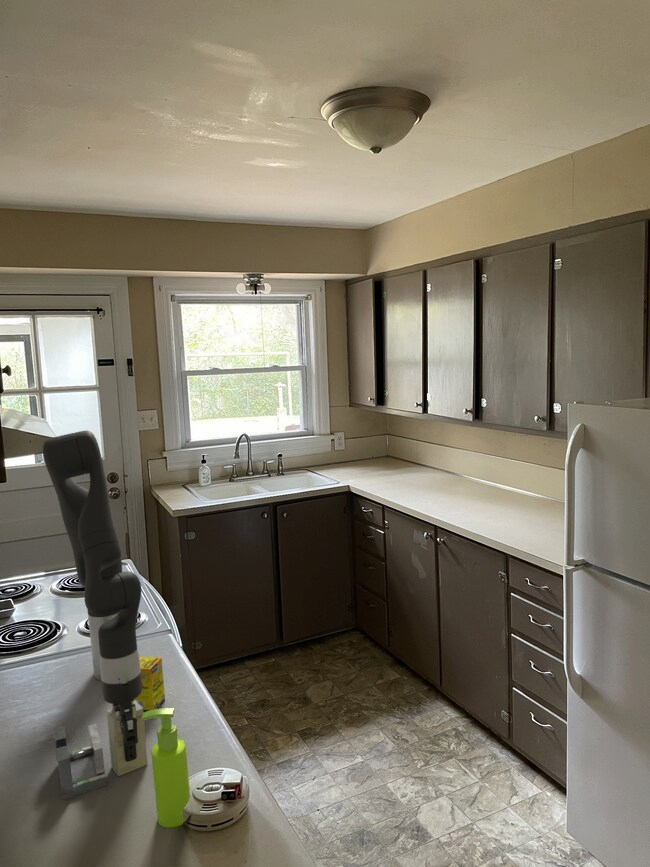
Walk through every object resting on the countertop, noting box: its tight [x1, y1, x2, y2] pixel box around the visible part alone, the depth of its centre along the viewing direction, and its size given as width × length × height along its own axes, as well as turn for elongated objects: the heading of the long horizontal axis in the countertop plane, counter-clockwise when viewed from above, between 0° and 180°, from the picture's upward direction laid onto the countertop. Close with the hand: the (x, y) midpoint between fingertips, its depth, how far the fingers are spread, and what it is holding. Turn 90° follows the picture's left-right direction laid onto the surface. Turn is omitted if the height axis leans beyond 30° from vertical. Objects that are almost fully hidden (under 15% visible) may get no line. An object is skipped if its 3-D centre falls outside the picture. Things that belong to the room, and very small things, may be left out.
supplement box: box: [133, 655, 166, 713], centre depth 151 cm, size 6×6×11 cm
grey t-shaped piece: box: [69, 723, 106, 776], centre depth 127 cm, size 10×8×6 cm
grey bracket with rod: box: [53, 726, 108, 800], centre depth 127 cm, size 12×8×8 cm, turn 27°
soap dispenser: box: [141, 707, 191, 829], centre depth 113 cm, size 6×7×20 cm
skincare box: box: [106, 700, 148, 777], centre depth 129 cm, size 6×4×12 cm
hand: (128, 752), depth 129 cm, fingers closed on skincare box, 4 cm apart
